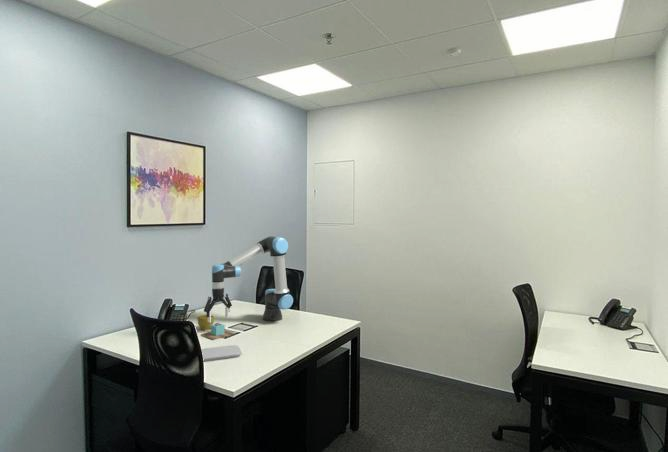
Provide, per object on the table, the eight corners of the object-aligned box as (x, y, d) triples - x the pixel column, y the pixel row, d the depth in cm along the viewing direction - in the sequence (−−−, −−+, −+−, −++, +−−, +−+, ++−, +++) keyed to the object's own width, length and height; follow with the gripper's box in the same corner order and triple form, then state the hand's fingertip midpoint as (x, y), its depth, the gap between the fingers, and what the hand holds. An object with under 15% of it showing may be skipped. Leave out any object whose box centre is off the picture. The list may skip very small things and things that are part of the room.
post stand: (221, 330, 265) (221, 319, 264) (233, 334, 256) (234, 322, 256) (200, 335, 252) (200, 323, 252) (212, 340, 243) (213, 328, 243)
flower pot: (214, 329, 267) (214, 316, 266) (203, 331, 260) (203, 318, 260) (208, 326, 273) (208, 314, 272) (196, 329, 266) (196, 316, 266)
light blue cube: (218, 331, 259) (218, 322, 258) (224, 333, 254) (224, 324, 254) (210, 333, 254) (210, 324, 253) (216, 335, 250) (216, 326, 249)
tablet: (191, 353, 220) (191, 350, 220) (237, 348, 231) (237, 344, 231) (193, 364, 206) (194, 360, 205) (242, 357, 216) (242, 353, 216)
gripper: (230, 284, 265) (230, 314, 266) (197, 290, 246) (198, 322, 247) (237, 285, 260) (237, 316, 261) (204, 291, 241) (204, 324, 242)
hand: (218, 319), depth 254 cm, fingers open, 13 cm apart
